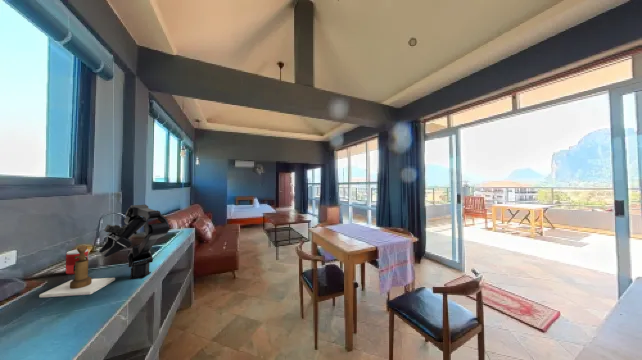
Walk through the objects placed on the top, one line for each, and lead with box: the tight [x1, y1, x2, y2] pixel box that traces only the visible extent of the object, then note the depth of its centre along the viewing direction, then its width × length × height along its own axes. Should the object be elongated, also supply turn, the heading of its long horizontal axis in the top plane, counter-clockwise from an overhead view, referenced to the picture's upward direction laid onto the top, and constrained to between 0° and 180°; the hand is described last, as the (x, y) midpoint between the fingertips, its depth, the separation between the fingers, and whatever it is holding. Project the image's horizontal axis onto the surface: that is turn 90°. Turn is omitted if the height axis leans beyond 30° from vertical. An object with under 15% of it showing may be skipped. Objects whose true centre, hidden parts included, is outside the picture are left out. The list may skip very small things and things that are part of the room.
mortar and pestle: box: [70, 245, 93, 289], centre depth 94 cm, size 7×6×18 cm
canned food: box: [65, 248, 89, 275], centre depth 110 cm, size 8×8×11 cm
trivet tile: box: [39, 277, 116, 298], centre depth 94 cm, size 18×13×1 cm
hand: (102, 254), depth 99 cm, fingers open, 9 cm apart
